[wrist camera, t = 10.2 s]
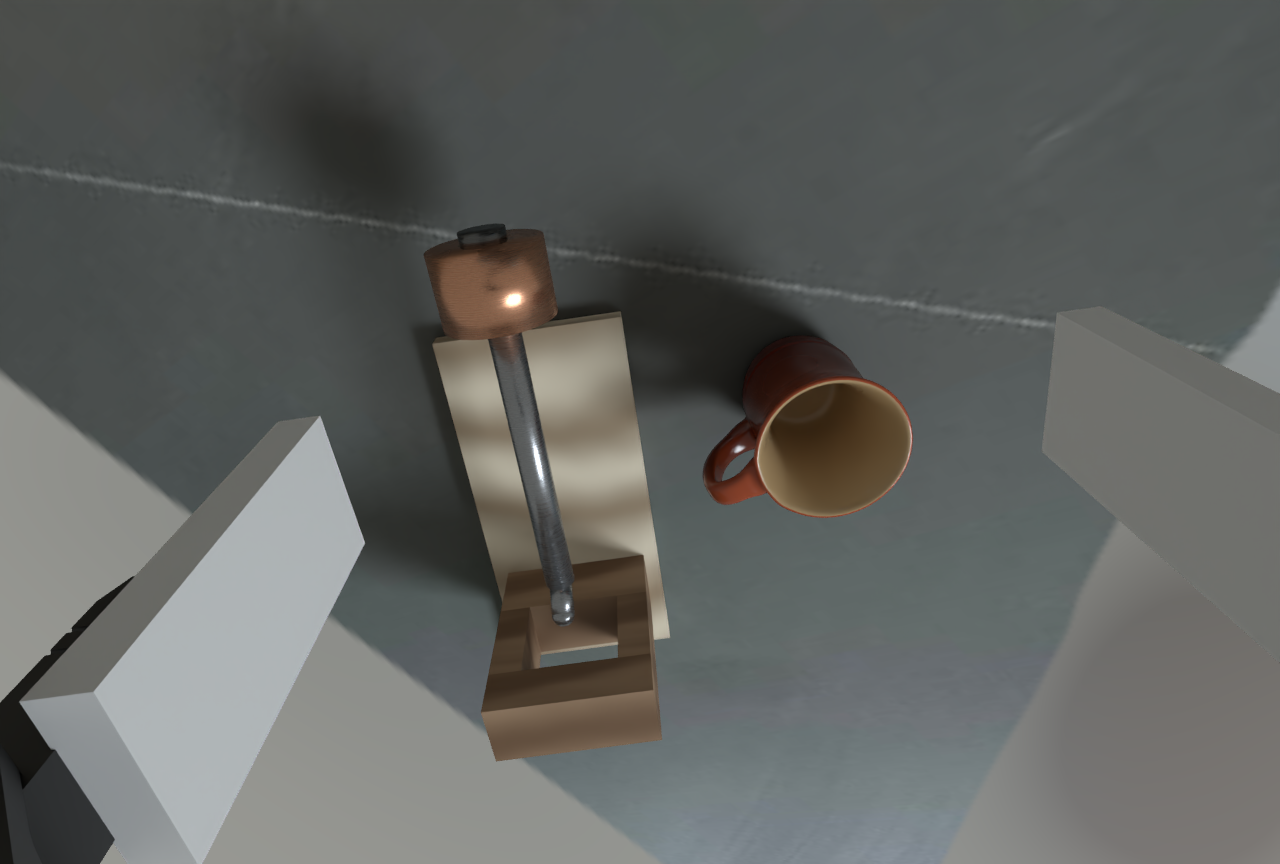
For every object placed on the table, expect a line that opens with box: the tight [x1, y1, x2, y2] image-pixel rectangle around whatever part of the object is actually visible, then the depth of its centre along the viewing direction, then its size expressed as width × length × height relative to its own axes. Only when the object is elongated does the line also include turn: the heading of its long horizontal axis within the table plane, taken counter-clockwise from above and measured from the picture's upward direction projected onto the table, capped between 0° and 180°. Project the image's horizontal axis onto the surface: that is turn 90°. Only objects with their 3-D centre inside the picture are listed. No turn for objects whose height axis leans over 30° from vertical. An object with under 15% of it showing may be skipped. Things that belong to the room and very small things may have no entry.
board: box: [432, 311, 670, 655], centre depth 54 cm, size 26×12×1 cm, turn 8°
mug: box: [703, 336, 913, 518], centre depth 47 cm, size 12×9×10 cm
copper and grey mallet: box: [424, 224, 575, 626], centre depth 43 cm, size 24×6×6 cm, turn 8°
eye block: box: [481, 555, 662, 761], centre depth 50 cm, size 4×10×13 cm, turn 98°
